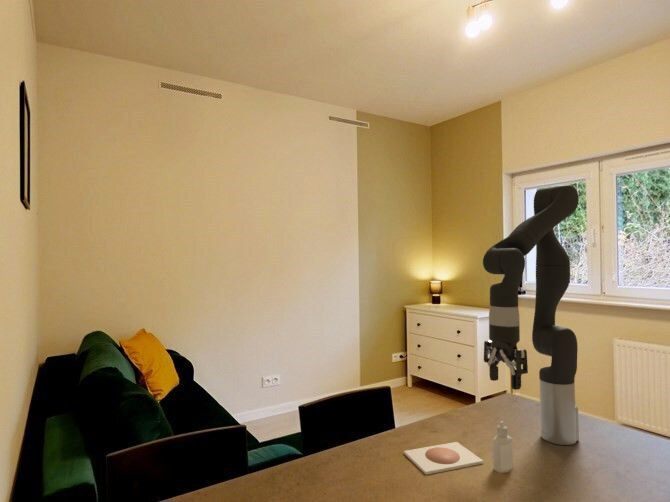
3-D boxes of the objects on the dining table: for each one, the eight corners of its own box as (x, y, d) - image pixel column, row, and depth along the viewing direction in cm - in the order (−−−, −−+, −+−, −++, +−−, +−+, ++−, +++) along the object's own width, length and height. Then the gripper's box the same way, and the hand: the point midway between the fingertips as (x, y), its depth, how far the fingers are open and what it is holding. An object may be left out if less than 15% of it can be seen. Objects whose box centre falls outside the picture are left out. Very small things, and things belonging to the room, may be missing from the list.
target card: (456, 444, 120) (456, 441, 120) (483, 463, 108) (483, 460, 108) (404, 453, 115) (403, 450, 115) (425, 474, 103) (425, 471, 103)
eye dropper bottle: (518, 472, 103) (516, 424, 104) (496, 473, 103) (495, 425, 103) (509, 464, 108) (508, 417, 108) (488, 465, 108) (487, 418, 108)
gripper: (535, 326, 104) (536, 391, 104) (498, 319, 118) (498, 376, 117) (510, 327, 102) (511, 393, 102) (475, 320, 116) (476, 378, 115)
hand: (504, 384), depth 109 cm, fingers open, 8 cm apart
